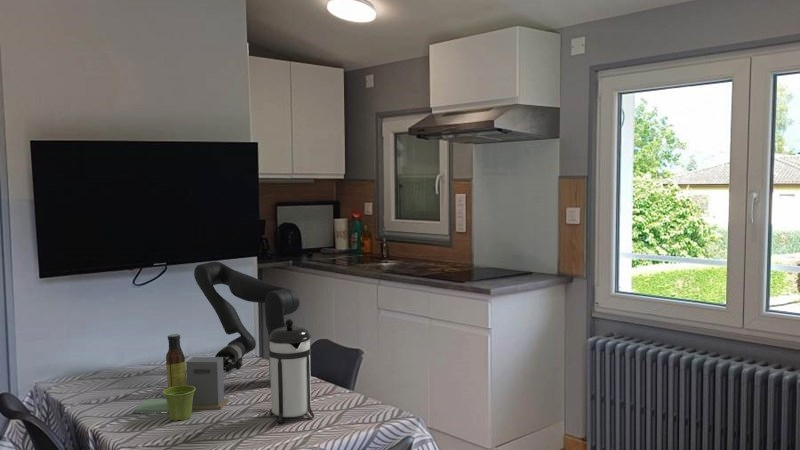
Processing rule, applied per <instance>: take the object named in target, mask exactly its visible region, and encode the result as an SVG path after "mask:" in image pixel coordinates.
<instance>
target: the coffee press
mask: <svg viewBox="0 0 800 450" xmlns="http://www.w3.org/2000/svg"><path fill="white" fill-rule="evenodd" d="M285 323H286V325H287V326H284V327H279V328H276V329H274V330H273V331H272V332H271V334H270V336H269V337H267V340H269V342H270V349H269V348H268V357H269V356H270V373H271V383H270V400H271V403H270V406H271V408H270V409H269V410H268V411H269V414H270V415H271V416H272V415H275V416H277V420H276V423H277V424H278V425H283V424H284V421H285V419H286V418H296V417H301V416H304V417H306V418H307V419H308V420H313V418H315V413H313V411H312V389H311V388H312V386H311V384H312V380H311V378H312V377H311V375H312V374H311V353H312V350H311V349H312V347H311V338H312V334H311V333H310V332H309V330H308V329H307V328H305V327H303V326H298V325H294V321H293V320H292V319H287V320H286V321H285ZM309 414H310V415H309Z"/></svg>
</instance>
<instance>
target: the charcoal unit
mask: <svg viewBox="0 0 800 450" xmlns="http://www.w3.org/2000/svg"><path fill="white" fill-rule="evenodd" d="M185 366H186V380H187V386H193V387H195V388H196V390H195V391H194V395H193V401H192V410H214V411H215V410H222V409H223V408H224V407H225V406H226V405H227V403H228V402H229V398H226V397H225V382H224V381H225V380H224V376H225V375H224V372H225V370H223V357H215V356H194V357H193V356H192V357H191V358H190V359H188V360H187V361H185Z"/></svg>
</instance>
